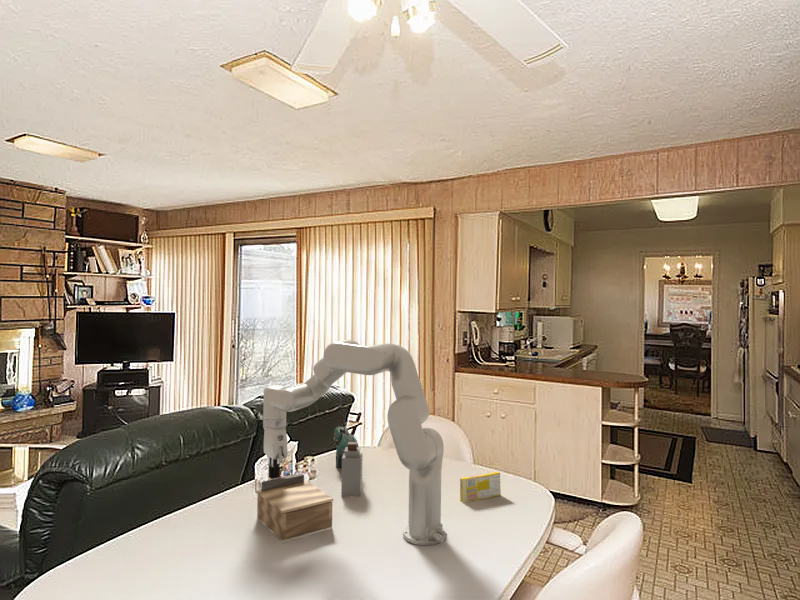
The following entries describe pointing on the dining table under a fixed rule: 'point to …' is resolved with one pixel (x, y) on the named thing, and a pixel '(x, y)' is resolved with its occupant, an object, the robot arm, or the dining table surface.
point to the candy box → (480, 487)
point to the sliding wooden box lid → (292, 493)
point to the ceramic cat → (342, 443)
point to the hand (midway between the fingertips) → (274, 477)
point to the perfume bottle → (351, 471)
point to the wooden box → (294, 520)
